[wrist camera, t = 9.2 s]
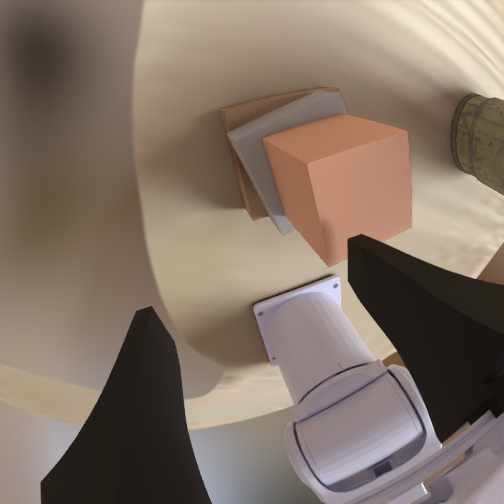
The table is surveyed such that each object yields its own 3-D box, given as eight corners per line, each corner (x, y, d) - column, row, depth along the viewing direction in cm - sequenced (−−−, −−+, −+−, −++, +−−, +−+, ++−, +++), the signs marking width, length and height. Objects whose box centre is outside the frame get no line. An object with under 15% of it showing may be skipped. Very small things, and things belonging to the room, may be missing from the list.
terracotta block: (355, 188, 16) (411, 226, 12) (285, 216, 16) (328, 267, 12) (341, 113, 13) (407, 131, 9) (261, 138, 13) (306, 164, 9)
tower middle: (348, 174, 18) (369, 187, 16) (269, 216, 19) (282, 235, 17) (318, 90, 15) (340, 92, 13) (226, 133, 15) (235, 141, 13)
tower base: (333, 178, 21) (350, 190, 19) (244, 205, 20) (253, 220, 18) (319, 86, 17) (338, 88, 15) (218, 108, 17) (224, 111, 14)
